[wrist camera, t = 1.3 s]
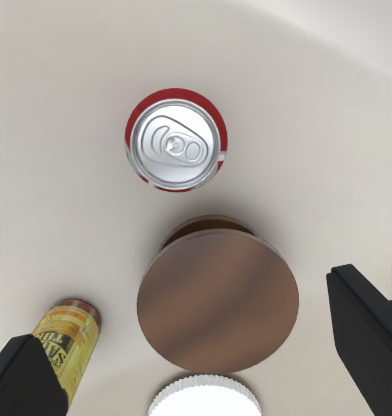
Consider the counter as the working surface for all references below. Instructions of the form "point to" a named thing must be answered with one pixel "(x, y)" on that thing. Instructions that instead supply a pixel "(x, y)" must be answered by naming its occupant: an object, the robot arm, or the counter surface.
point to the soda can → (176, 140)
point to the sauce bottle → (69, 341)
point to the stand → (216, 297)
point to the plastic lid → (205, 398)
